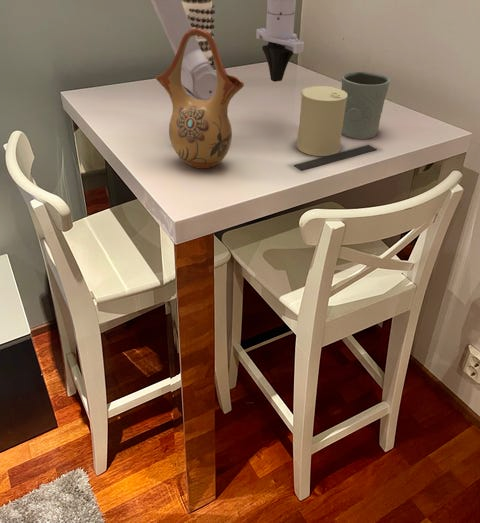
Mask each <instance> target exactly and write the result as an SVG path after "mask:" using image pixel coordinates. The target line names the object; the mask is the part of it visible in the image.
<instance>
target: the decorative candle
mask: <svg viewBox="0 0 480 523" xmlns="http://www.w3.org/2000/svg"><path fill="white" fill-rule="evenodd" d="M181 2H182V5H183V7H184V10H185V12H186V15H187V17H188V20H189V22H190V25H191V27H192V29H196V28H199V29H202V30H205V31H206V32H208V33H209V34H210V35H211V36H212V38H213V39H214V36H215V33H213V32H212V30H213V29H215V25H214V24H213V23H214V22H215V18H213V16H212V15H214V14H215V13H216V11H215V10H214V9H213V8H215V5H214V4H213V0H181ZM195 37H196V39H197V42H198V44H199V47H200V49H201V50H202V52H203V53H204V55H205V56H206V58H207V59H208V61H209V63H210V65H211V67H212V69H213V70H214V71H215V68H214V67H213V66H215V62H214V58H213V55H212V52H211V49H210V46H209V44H208V42H207V40H206V39H205V38H204V37H202V36H198V35H196V36H195Z"/></svg>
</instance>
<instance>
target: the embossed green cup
mask: <svg viewBox="0 0 480 523" xmlns="http://www.w3.org/2000/svg"><path fill="white" fill-rule="evenodd" d="M390 82H391V79H390V78H389V77H388V76H386V75H384V74H381V73H377V72H369V71H351V72H347V73H344V74H343V75H342V76H341V88H340V89H341V90H343V91H345V92H346V93H347V95H348V96H347V100H346V107H345V113H344V120H343V127H342V134H341V135H342V136H345V137H347V138H350V139H355V140H368V139H372V138H375V137H376V136H377V134H378V131H379V128H380V121H381V118H382V113H383V108H384V104H385V101H386V100H385V99H386V97H387V94H388V90H389V86H390Z"/></svg>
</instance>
